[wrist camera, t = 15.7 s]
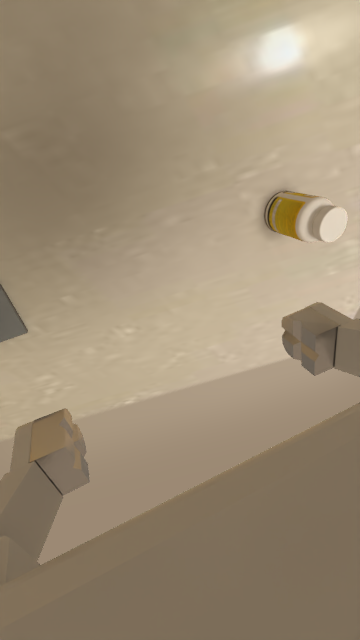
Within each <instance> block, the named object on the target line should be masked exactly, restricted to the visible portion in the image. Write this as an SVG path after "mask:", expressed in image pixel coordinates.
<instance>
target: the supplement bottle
mask: <svg viewBox="0 0 360 640" xmlns="http://www.w3.org/2000/svg"><path fill="white" fill-rule="evenodd" d="M265 218H266V223H267V225H268V226H269V228H270V229H271V230H273V231H275V232H278V233H281V234H284V235H287V236H290V237H293V238H295V239H298V240H301V241H304V242H310V243H311V242H316V241H323V242H327V243H329V242H333V241H335V240H337V239H338V238H339V237H340V236H341V235H342V234H343V232H344V230H345V228H346V226H347V221H348V216H347V213H346V211H345V210H344V209H343V208H341V207H337V206H333V204H332V202H331V201H330V200H329V199H327V198H324V197H319V196H313V195H307V194H301V193H295V192H288V191H284V192H280V193H278V194H277V195H275V196H274V197H273V198H272V199H271V201H270V202H269V204H268V206H267V209H266V214H265Z"/></svg>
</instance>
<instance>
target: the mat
mask: <svg viewBox="0 0 360 640" xmlns="http://www.w3.org/2000/svg"><path fill="white" fill-rule="evenodd" d="M27 332H28V330H27V328H26V327H25V325H24V323H23V321H22V320H21V318H20V316H19V315H18V313H17V311H16V310H15V308H14V306H13V304H12V303H11V301H10V299H9V298H8V296H7V294H6V293H5V291H4V289H3V288H2V286H1V284H0V342H3V341H5V340H8V339H11V338H14V337H16V336H19V335H22V334H25V333H27Z"/></svg>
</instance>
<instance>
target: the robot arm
mask: <svg viewBox="0 0 360 640" xmlns="http://www.w3.org/2000/svg"><path fill="white" fill-rule="evenodd" d="M282 327H283V328H284V329H285V332H284V334H283V336H282V341H283V345H284V348H285V350H286V351H287V353H288V354H289V355H290V356H291V357H292V358H293V359H298V360H301V364H302V366H303V367H304V368H305V369H307V370H308V371H309V372H310V373H311V374H313V375H314V376H316V375H318V374H320V373H322V372H325V371H327V370H329V369H332V368H334V367H335V369H338V370H341V371H344V372H347V373H350V374H353V375H355V376H359V377H360V319H354V320H353V319H351V318H349V317H347V316H345V315H343V314H341V313H340V312H338V311H336V310H334V309H332V308H330V307H329V306H327V305H325V304H323V303H320V302H317V303H314V304H312V305H310V306H308V307H306V308H304V309H301V310H299V311H297V312H294V313H292V314H290V315H287V316H285V317H283V319H282ZM85 454H86V446H85V442H84V439H83V435H82V433H81V431H80V429H79V427H78V425H76V424H73V423H72V416H71V414H70V412H69V411H68V409H62V410H59V411H57V412H54V413H52V414H49V415H47V416H44V417H42V418H39V419H37V420H34V421H32V422H30V423H27V424H25V425H22V426H20V427H18V428H17V429H16V431H15V437H14V445H13V452H12V460H11V467H10V472H9V473H7V474H5V475H4V476H3V478H2V479H1V480H0V640H360V403H358V404H356V405H354V406H352V407H350V408H348V409H346V410H344V411H342V412H340V413H338V414H336V415H334V416H333V417H330V418H328V419H326V420H324V421H322V422H320V423H319V424H317V425H315V426H313V427H311V428H309V429H307V430H305V431H303V432H301V433H299V434H297V435H295V436H293V437H291V438H289V439H287V440H285V441H283V442H281V443H279V444H277V445H275V446H274V447H272V448H270V449H268V450H266V451H264V452H262V453H260V454H258V455H256V456H254V457H252V458H250V459H248V460H246V461H244V462H242V463H240V464H238V465H236V466H234V467H232V468H230V469H228V470H226V471H224V472H222V473H221V474H219V475H217V476H215V477H213V478H211V479H209V480H207V481H205V482H203V483H201V484H199V485H197V486H195V487H193V488H191V489H189V490H187V491H185V492H183V493H181V494H179V495H177V496H175V497H174V498H172V499H169V500H168V501H166V502H164V503H162V504H160V505H158V506H156V507H154V508H152V509H150V510H148V511H146V512H144V513H142V514H140V515H138V516H136V517H134V518H132V519H130V520H128V521H126V522H124V523H122V524H120V525H119V526H117V527H115V528H113V529H111V530H109V531H107V532H105V533H103V534H101V535H99V536H97V537H95V538H93V539H91V540H89V541H87V542H85V543H83V544H81V545H79V546H77V547H75V548H74V549H71V550H70V551H68V552H66V553H64V554H62V555H60V556H58V557H56V558H54V559H52V560H50V561H48V562H46V563H44V564H42V565H40V564H39V563H38V562H37V560H38V558H39V555H40V553H41V551H42V548H43V546H44V543H45V541H46V538H47V535H48V533H49V531H50V529H51V526H52V523H53V521H54V519H55V516H56V514H57V511H58V509H59V507H60V504H61V502H62V499H63V495H65V494H67V493H69V492H71V491H73V490H75V489H77V488H79V487H81V486H83V485H85V484H87V483H89V471H88V464H87V462H86V460H85V459H84V455H85Z"/></svg>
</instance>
